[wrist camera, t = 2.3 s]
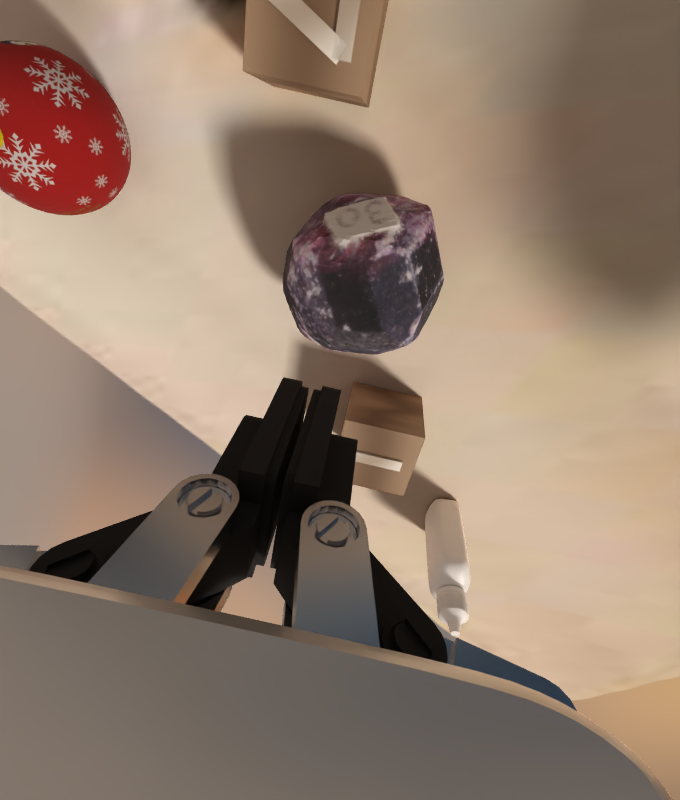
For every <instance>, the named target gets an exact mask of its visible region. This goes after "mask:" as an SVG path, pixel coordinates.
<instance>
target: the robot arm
mask: <svg viewBox="0 0 680 800" xmlns="http://www.w3.org/2000/svg"><path fill="white" fill-rule="evenodd" d="M308 390H309V388H306V387H302V381H298V380H293V379H289V378H283V379H282V381H281V383H280V385H279V387H278V389H277V391H276V393H275V395H274V398H273V400H272V402H271V404H270V406H269V408H268V410H267V412H266V414H265V416H264V418H263V419H262V418H257V417H253V416H248V415H246V416H244V418H243V419H242V421H241V423H240V425H239V426H238V428H237V430H236V432H235V433H234V435H233V437H232V439H231V441H230V442H229V444H228V446H227V448H226V449H225V451H224V453H223V455H222V457H221V458H220V460H219V462H218V464H217V466H216V467H215V469H214V471H213V473H212V474H198V475H194V476H190V477H188V478H186V479H184V480H182V481H181V482H180V483H178V484H177V485H176V486H175V487H174V488H173V489H172V490H171V491H170V492H169V494H168V495H167V496H166V497H165V498H164V499H163V500H162V501H161V502H160V503H159V505H158V506H157V507H156V508H155V509H154V510H153V511H150V512H147V513H145V514H142V515H139V516H136V517H133V518H131V519H128V520H125V521H122V522H120V523H117V524H114V525H111V526H108V527H105V528H102V529H100V530H97V531H94V532H91V533H89V534H86V535H83V536H80V537H77V538H75V539H72V540H69V541H66V542H64V543H62V544H59V545H57V546H55V547H53V548H51V549H50V550H48V551H41V550H40V547H39V546H31V545H30V546H27V545H0V800H673V799H672V797H671V796H670V794H669V793H668V791H667V790H666V788H665V787H664V786H663V784H662V783H661V782H660V781H659V779H658V778H657V776H656V775H655V774H654V773H653V771H652V770H651V769H650V768H649V767H648V766H647V765H646V764H645V763H644V762H643V761H642V760H641V759H640V758H639V757H638V756H637V755H636V754H635V753H634V752H633V751H632V750H631V749H629V748H628V747H627V746H626V745H625V744H624V743H622V742H621V741H620V740H619V739H617V738H616V737H615V736H613V735H612V734H611V733H609V732H608V731H607V730H605V729H604V728H602V727H601V726H599V725H598V724H596V723H595V722H593V721H592V720H590V719H589V718H587V717H585V716H584V715H582V714H581V713H579V712H577V710H576V708H575V707H574V705H573V703H572V701H571V700H570V698H569V697H568V696H567V695H566V694H565V693H564V692H563V691H562V690H561V689H560V688H559V687H558V686H557V685H555V684H553V683H552V682H550V681H549V680H547V679H546V678H543V677H541V676H539V675H537V674H535V673H533V672H530V671H528V670H526V669H524V668H522V667H520V666H517V665H515V664H513V663H511V662H509V661H507V660H504V659H502V658H500V657H498V656H496V655H494V654H491V653H489V652H487V651H485V650H483V649H480V648H478V647H476V646H474V645H472V644H470V643H467V642H465V641H463V640H461V639H459V638H456V640H455V641H454V642H453V641H451V640H449V639H447V638H444V637H443V636H442V634H441V632H440V631H439V630H438V628H437V627H436V625H435V624H434V623H433V622H432V620H431V619H430V618H429V617H428V616H427V615H426V614H425V613H424V611H423V610H422V609H421V608H420V607H419V606H418V605H417V604H416V602H415V601H414V600H413V599H412V598H411V597H410V596H409V595H408V593H407V592H406V591H405V590H404V589H403V588H402V587H401V586H400V584H399V583H398V582H397V581H396V580H395V579H394V578H393V577H392V575H391V574H390V573H389V572H388V571H387V570H386V569H385V568H384V566H383V565H382V564H381V563H380V562H379V561H378V560H377V559H376V557H375V556H374V555H373V554H372V553H371V552H370V551H369V545H368V536H367V528H366V525H365V521H364V519H363V518H362V516H361V515H360V514H359V513H358V512H357V511H356V510H355V509H354V508H352V507H351V506H350V501H351V493H352V485H353V477H354V469H355V460H356V452H357V444H358V440H357V439H352V438H348V437H343V436H339V435H334V434H332V429H333V425H334V420H335V416H336V411H337V406H338V402H339V397H340V393H341V390H338V389H334V388H329V387H325V386H323V387H322V390H321V391H320V390H315V389H314V391H313V394H312V397H311V400H310V403H309V406H308V409H307V412H306V415H305V418H304V413H305V408H306V402H307V396H308ZM303 419H304V421H303ZM276 526H277V528H276ZM275 529H276V535H275V540H274V547H273V553H272V559H271V566H270V567H271V568H275V569H276V573H275V579H274V585H275V586H276V588H277V589H278V591H279V592H280V594H281V596H282V597H283V599H284V600H285V603H284V608H283V619H282V626H281V625H276V624H272V623H267V622H263V621H259V620H254V619H250V618H245V617H240V616H236V615H231V614H227V613H222V612H221V610H222V608H223V606H224V604H225V603H226V601H227V599H228V597H229V595H230V592H231V589H232V585H234V584H236V583H238V582H240V581H241V580H243V579H245V578H247V577H252V576H253V573H254V570H255V567H256V564H257V565H262V566H264V564H265V561H266V558H267V555H268V551H269V548H270V545H271V542H272V539H273V536H274V532H275Z"/></svg>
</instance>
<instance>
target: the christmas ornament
mask: <svg viewBox="0 0 680 800" xmlns="http://www.w3.org/2000/svg"><path fill="white" fill-rule="evenodd" d="M130 163H131V148H130V141H129V136H128V132H127V129H126V125H125V123H124V120H123V118H122V116H121V114H120V111H119V110H118V108H117V106H116V104H115V103H114V101H113V100H112V98H111V97H110V95H109V94H108V92H107V91H106V90H105V89H104V87H103V86H102V85H101V84H100V83H99V82H98V81H97V80H96V79H95V78H94V77H93V76H92V75H91V74H90V73H89V72H88V71H87V70H85V69H84V68H83V67H82V66H80V65H79V64H78V63H76V62H75V61H73V60H72V59H70V58H69V57H67V56H65V55H63V54H61V53H60V52H58V51H55V50H53V49H51V48H48V47H45V46H42V45H39V44H35V43H31V42H25V41H1V42H0V190H2V191H3V192H5V193H6V194H7V195H9V196H11V197H12V198H14V199H15V200H17V201H19V202H21V203H23V204H25V205H27V206H29V207H32V208H34V209H37V210H40V211H44V212H47V213H52V214H58V215H79V214H85V213H89V212H93V211H95V210H98V209H100V208H102V207H104V206H105V205H107V204H108V203H109V202H111V201H112V200H113V199H114V198H115V197H116V196H117V195H118V193H119V192H120V191H121V189H122V188H123V186H124V184H125V182H126V179H127V177H128V173H129V170H130Z"/></svg>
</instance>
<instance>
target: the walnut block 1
mask: <svg viewBox="0 0 680 800" xmlns="http://www.w3.org/2000/svg"><path fill="white" fill-rule="evenodd" d="M341 436H343V437H348V438H352V439H357V440H358V444H357V452H356V460H355V469H354V477H353V485H358V486H362V487H366V488H370V489H375V490H379V491H383V492H388V493H392V494H396V495H401V496H404V493H405V490H406V488H407V485H408V482H409V480H410V477H411V475H412V472H413V469H414V467H415V464H416V461H417V459H418V456H419V453H420V451H421V448H422V445H423V443H424V440H425V430H424V418H423V406H422V397H418V396H413V395H409V394H405V393H400V392H396V391H391V390H387V389H383V388H378V387H374V386H370V385H365V384H361V383H357V382H353V385H352V390H351V394H350V398H349V402H348V406H347V411H346V415H345V419H344V423H343V427H342V432H341Z"/></svg>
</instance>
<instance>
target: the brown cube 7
mask: <svg viewBox="0 0 680 800" xmlns="http://www.w3.org/2000/svg"><path fill="white" fill-rule="evenodd" d="M388 1H389V0H246V16H245V36H244V55H243V71H244V72H246V73H248V74H250V75H252V76H254V77H256V78H258V79H260V80H262V81H264V82H266V83H268V84H270V85H272V86H274V87H278V88H283V89H287V90H292V91H296V92H301V93H305V94H310V95H314V96H319V97H323V98H328V99H332V100H336V101H341V102H345V103H350V104H354V105H359V106H363V107H368V108H369V103H370V98H371V92H372V87H373V82H374V76H375V71H376V65H377V60H378V55H379V49H380V44H381V39H382V33H383V28H384V22H385V17H386V12H387V6H388Z"/></svg>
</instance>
